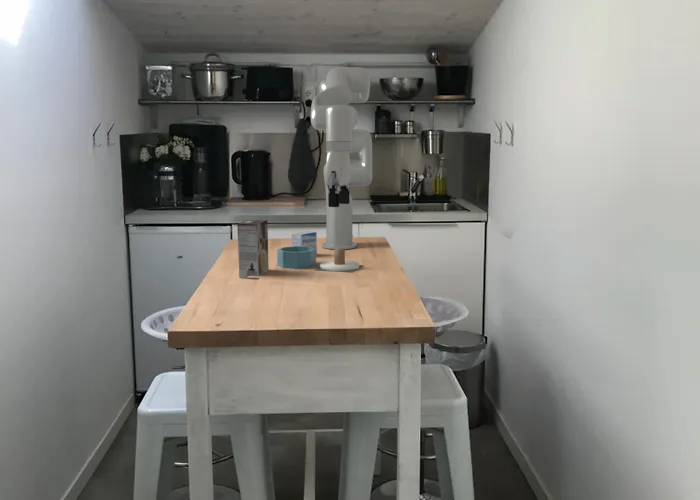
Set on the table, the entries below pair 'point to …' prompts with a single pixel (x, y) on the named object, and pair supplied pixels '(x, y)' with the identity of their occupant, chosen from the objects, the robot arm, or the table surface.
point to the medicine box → (305, 239)
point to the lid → (339, 263)
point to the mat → (341, 271)
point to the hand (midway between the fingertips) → (339, 205)
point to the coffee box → (252, 248)
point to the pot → (296, 257)
